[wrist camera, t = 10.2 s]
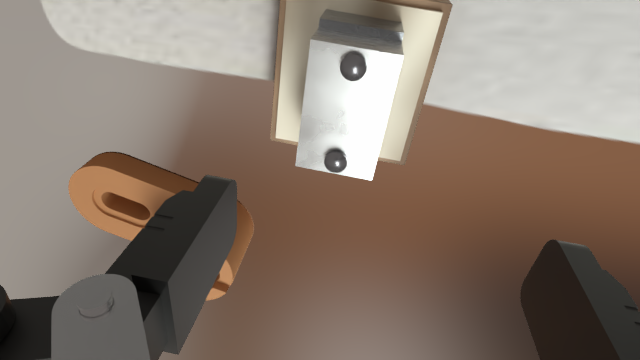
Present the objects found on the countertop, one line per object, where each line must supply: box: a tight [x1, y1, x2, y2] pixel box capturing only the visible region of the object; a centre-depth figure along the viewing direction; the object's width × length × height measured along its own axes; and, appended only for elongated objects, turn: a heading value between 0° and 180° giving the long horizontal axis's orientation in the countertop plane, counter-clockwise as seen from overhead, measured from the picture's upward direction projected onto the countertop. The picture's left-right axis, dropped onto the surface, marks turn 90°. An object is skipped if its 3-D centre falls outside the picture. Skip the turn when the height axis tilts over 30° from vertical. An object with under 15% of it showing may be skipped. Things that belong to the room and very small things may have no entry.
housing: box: [296, 9, 404, 180], centre depth 25 cm, size 5×9×6 cm, turn 172°
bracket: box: [69, 152, 254, 300], centre depth 38 cm, size 18×8×7 cm, turn 69°
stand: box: [270, 0, 452, 165], centre depth 29 cm, size 11×12×3 cm
